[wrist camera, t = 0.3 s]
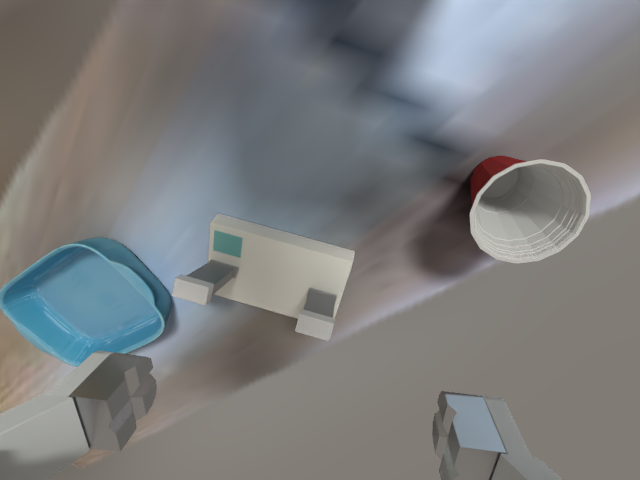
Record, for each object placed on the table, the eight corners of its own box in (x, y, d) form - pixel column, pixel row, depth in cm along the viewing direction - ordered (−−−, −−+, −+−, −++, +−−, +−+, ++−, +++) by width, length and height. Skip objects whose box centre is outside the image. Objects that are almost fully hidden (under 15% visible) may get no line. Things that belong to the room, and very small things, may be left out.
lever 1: (213, 256, 54) (175, 278, 42) (240, 263, 53) (209, 287, 42) (210, 270, 54) (171, 295, 42) (236, 278, 54) (205, 305, 42)
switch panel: (218, 213, 53) (209, 222, 50) (354, 251, 52) (353, 262, 49) (214, 281, 60) (206, 293, 57) (333, 316, 59) (331, 329, 57)
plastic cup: (564, 152, 40) (624, 189, 30) (508, 226, 46) (543, 278, 36) (481, 118, 40) (513, 143, 30) (434, 196, 46) (448, 240, 35)
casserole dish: (94, 353, 78) (69, 380, 72) (12, 282, 70) (-23, 305, 64) (206, 301, 63) (186, 328, 57) (118, 204, 56) (85, 224, 50)
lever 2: (310, 284, 53) (299, 313, 41) (337, 291, 53) (334, 323, 41) (306, 298, 53) (294, 331, 42) (333, 305, 53) (329, 341, 42)
